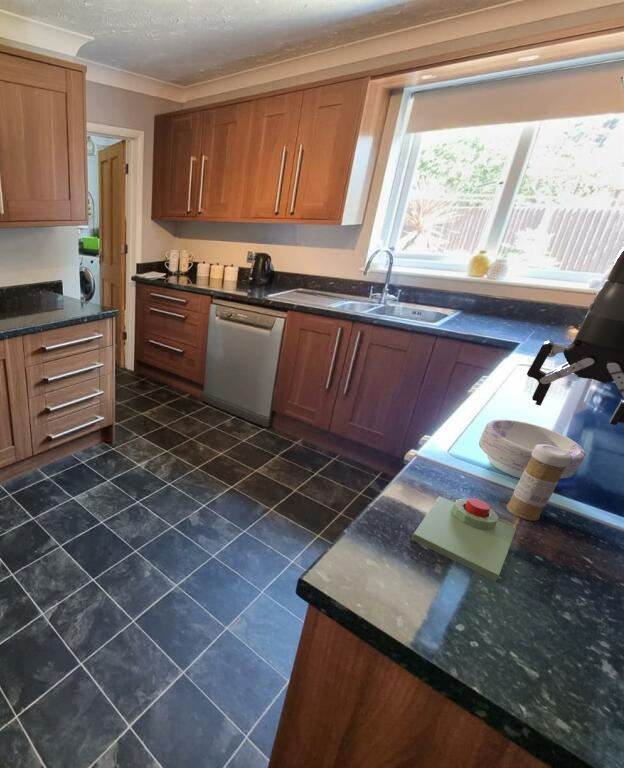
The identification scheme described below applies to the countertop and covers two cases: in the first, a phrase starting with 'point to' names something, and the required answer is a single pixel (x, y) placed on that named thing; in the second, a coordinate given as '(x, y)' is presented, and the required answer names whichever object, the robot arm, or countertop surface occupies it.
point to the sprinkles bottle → (538, 481)
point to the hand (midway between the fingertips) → (573, 413)
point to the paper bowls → (524, 446)
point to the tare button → (477, 507)
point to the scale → (466, 536)
